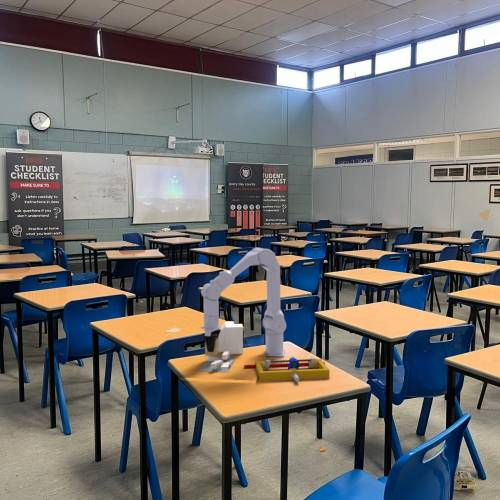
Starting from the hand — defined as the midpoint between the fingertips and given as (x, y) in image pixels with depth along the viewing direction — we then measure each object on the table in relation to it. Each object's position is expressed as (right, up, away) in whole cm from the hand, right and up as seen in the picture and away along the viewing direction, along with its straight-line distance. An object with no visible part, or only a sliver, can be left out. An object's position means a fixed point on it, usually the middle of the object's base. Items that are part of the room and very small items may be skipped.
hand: (212, 350), depth 196 cm
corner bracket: (+6, -4, +15) cm, 16 cm away
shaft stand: (+3, -6, -4) cm, 7 cm away
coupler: (0, -2, 0) cm, 2 cm away
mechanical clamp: (+28, -7, -15) cm, 32 cm away
